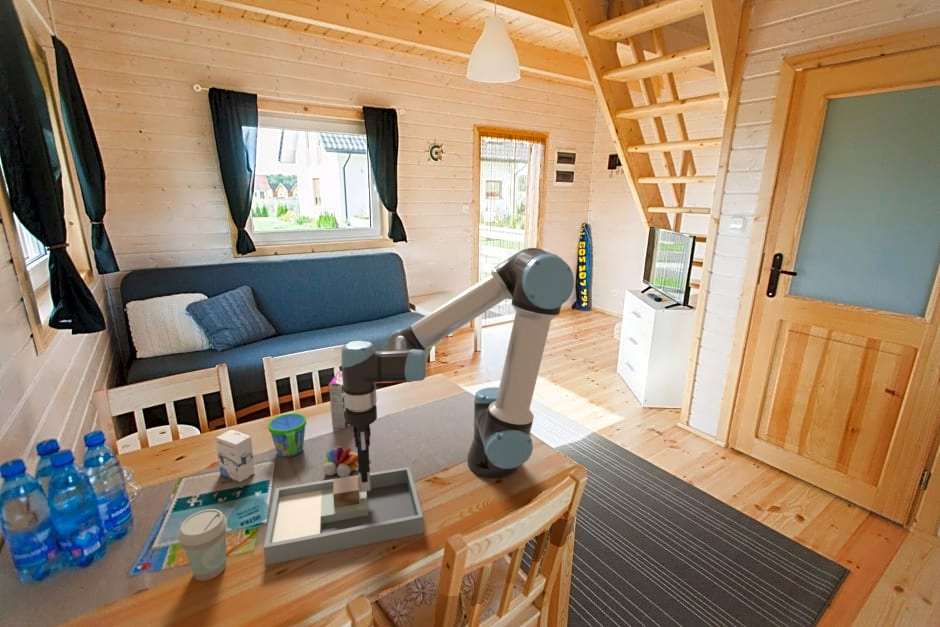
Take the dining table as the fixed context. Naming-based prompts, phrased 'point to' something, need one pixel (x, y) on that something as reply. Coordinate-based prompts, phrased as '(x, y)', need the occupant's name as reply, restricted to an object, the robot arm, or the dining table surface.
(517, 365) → the robot arm
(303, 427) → the snack cup
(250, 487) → the dining table surface
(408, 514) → the box
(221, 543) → the coffee cup
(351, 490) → the walnut block
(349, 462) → the rainbow wheeled toy
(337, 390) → the candy bar box
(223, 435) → the ink box
